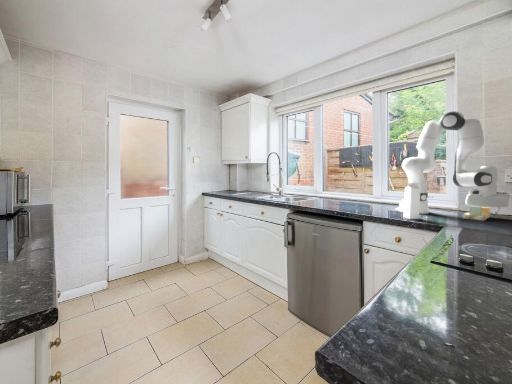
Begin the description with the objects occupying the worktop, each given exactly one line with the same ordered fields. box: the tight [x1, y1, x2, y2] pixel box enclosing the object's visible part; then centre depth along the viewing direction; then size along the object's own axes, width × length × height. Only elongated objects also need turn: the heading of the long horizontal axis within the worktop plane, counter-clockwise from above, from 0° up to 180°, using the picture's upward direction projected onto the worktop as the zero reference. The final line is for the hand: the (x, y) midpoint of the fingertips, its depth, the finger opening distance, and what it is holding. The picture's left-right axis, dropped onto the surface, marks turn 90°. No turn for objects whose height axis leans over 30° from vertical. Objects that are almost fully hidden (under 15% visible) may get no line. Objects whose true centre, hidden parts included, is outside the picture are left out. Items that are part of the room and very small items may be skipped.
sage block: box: [468, 206, 483, 215], centre depth 153 cm, size 5×5×5 cm
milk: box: [402, 182, 420, 220], centre depth 153 cm, size 6×6×22 cm
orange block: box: [482, 206, 491, 219], centre depth 158 cm, size 4×4×6 cm
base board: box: [462, 212, 488, 221], centre depth 154 cm, size 10×10×2 cm
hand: (485, 213), depth 157 cm, fingers open, 8 cm apart
